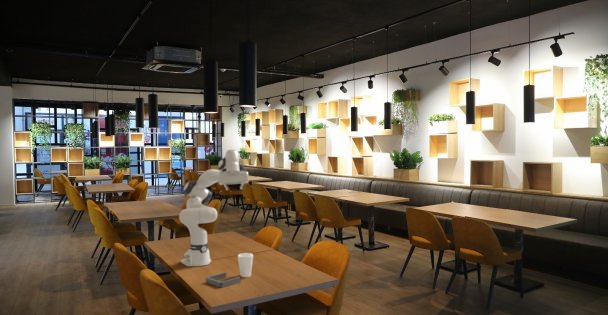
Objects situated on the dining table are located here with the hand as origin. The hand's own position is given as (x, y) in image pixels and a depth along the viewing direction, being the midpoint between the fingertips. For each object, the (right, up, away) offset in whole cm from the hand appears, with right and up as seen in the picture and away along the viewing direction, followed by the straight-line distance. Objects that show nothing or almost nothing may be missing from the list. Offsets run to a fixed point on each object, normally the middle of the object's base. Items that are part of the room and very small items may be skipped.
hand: (234, 189), depth 279 cm
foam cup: (+11, -53, -19) cm, 57 cm away
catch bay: (-1, -53, -31) cm, 61 cm away
